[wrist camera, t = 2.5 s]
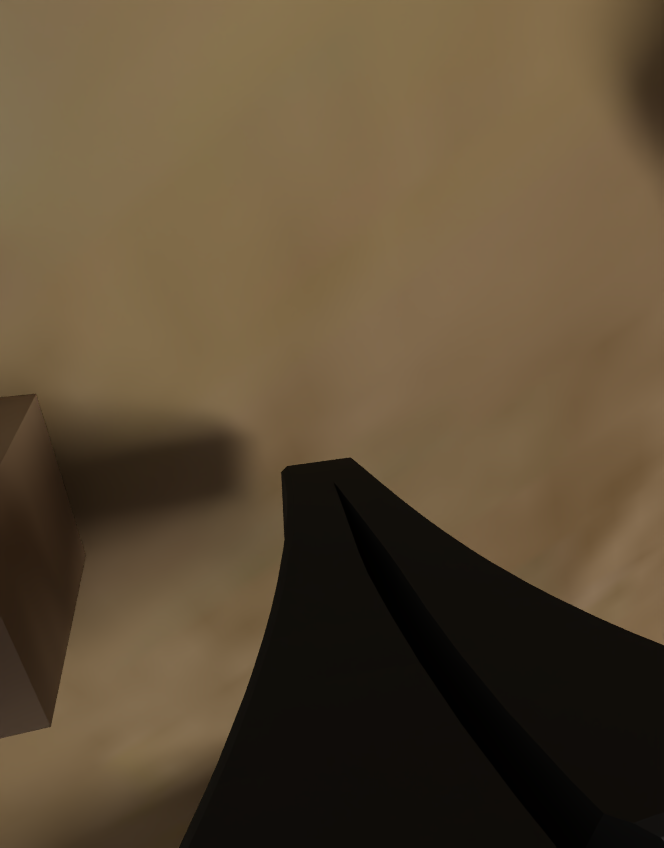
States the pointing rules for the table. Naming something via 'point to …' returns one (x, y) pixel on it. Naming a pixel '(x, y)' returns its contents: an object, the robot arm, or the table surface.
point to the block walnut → (33, 568)
